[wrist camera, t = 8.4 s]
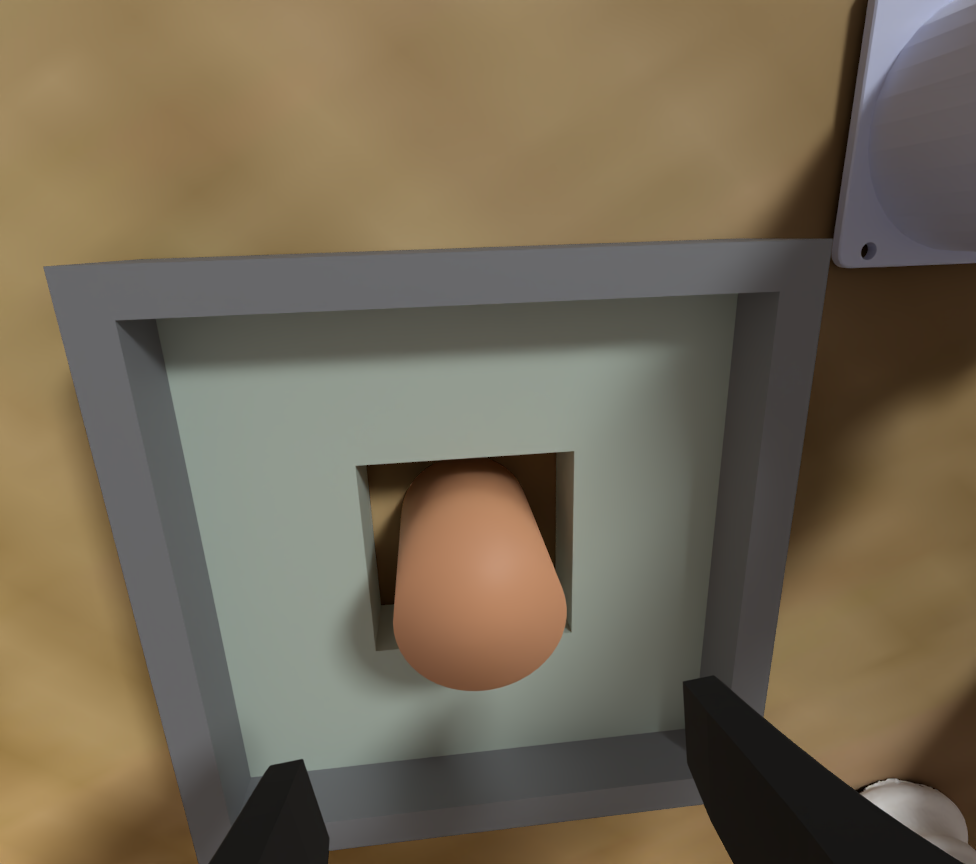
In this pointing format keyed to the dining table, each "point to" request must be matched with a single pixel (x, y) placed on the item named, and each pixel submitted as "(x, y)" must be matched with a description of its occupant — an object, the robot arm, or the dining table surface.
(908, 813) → the cherub figurine
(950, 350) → the dining table surface
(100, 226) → the dining table surface
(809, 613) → the dining table surface
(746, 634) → the box
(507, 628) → the peg
